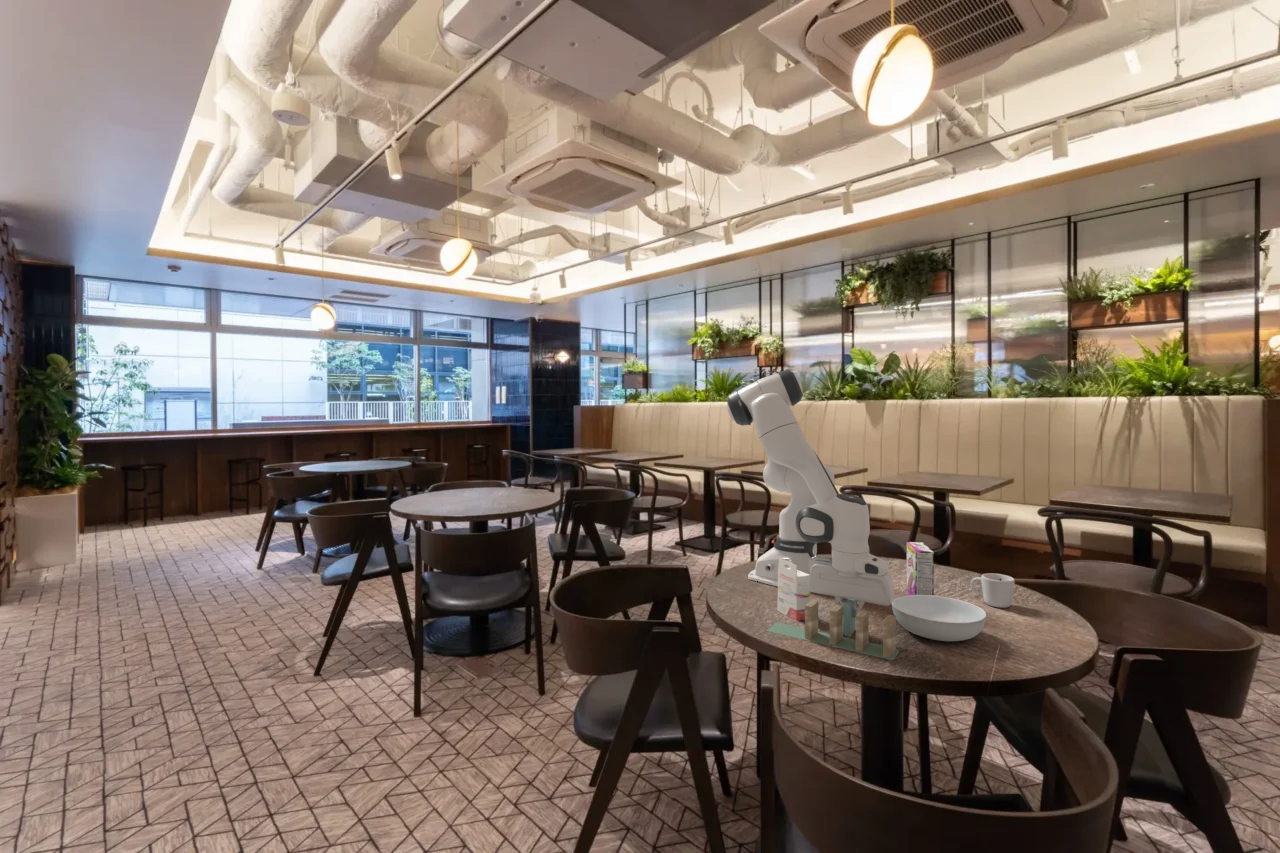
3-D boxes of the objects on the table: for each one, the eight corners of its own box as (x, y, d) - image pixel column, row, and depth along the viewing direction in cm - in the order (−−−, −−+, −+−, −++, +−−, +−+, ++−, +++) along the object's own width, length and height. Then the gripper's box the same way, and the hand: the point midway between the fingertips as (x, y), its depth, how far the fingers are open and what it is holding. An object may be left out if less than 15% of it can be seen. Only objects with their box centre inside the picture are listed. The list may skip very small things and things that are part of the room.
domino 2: (829, 643, 141) (829, 610, 140) (835, 637, 145) (836, 604, 144) (836, 645, 140) (836, 611, 139) (842, 638, 144) (842, 605, 144)
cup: (966, 603, 169) (967, 575, 169) (974, 596, 175) (974, 569, 175) (1010, 612, 162) (1011, 583, 162) (1016, 604, 168) (1017, 576, 168)
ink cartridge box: (811, 618, 158) (812, 563, 157) (796, 621, 156) (796, 565, 155) (791, 608, 166) (791, 556, 165) (776, 610, 164) (776, 558, 163)
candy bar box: (905, 596, 175) (905, 541, 175) (923, 597, 174) (924, 542, 174) (914, 609, 164) (915, 550, 164) (934, 610, 163) (935, 551, 163)
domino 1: (804, 638, 144) (804, 605, 144) (811, 631, 148) (811, 599, 148) (811, 639, 143) (811, 606, 143) (818, 633, 147) (818, 601, 147)
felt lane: (765, 631, 149) (765, 630, 149) (776, 623, 155) (776, 622, 155) (893, 661, 132) (893, 660, 132) (900, 650, 137) (900, 649, 137)
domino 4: (855, 649, 137) (855, 615, 137) (861, 642, 141) (861, 609, 141) (862, 651, 136) (863, 617, 136) (868, 644, 140) (868, 610, 140)
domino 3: (843, 635, 146) (843, 603, 146) (849, 629, 150) (849, 597, 150) (849, 636, 145) (850, 604, 145) (855, 630, 149) (855, 599, 149)
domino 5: (882, 656, 134) (883, 621, 133) (888, 648, 138) (888, 614, 138) (890, 657, 133) (890, 622, 133) (895, 650, 137) (895, 615, 137)
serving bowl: (970, 622, 155) (970, 596, 154) (999, 656, 134) (999, 626, 134) (884, 616, 159) (885, 591, 159) (900, 647, 139) (900, 618, 139)
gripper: (804, 557, 151) (804, 611, 151) (890, 570, 139) (889, 628, 139) (813, 552, 156) (812, 604, 156) (896, 564, 144) (895, 620, 144)
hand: (849, 615), depth 148 cm, fingers closed on domino 3, 2 cm apart
